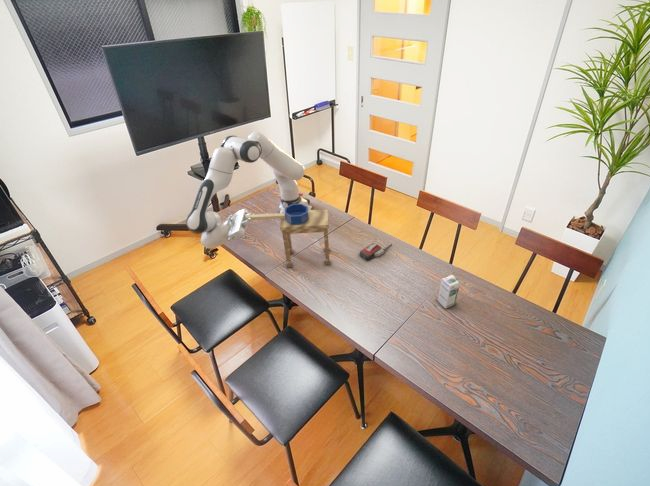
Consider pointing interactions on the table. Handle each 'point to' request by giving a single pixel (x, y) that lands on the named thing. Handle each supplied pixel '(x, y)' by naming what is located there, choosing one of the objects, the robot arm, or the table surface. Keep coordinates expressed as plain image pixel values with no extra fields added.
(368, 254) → the walkie-talkie
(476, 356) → the table surface
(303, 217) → the blue saucepan
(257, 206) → the table surface
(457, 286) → the syrup box
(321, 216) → the stand
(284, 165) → the robot arm
